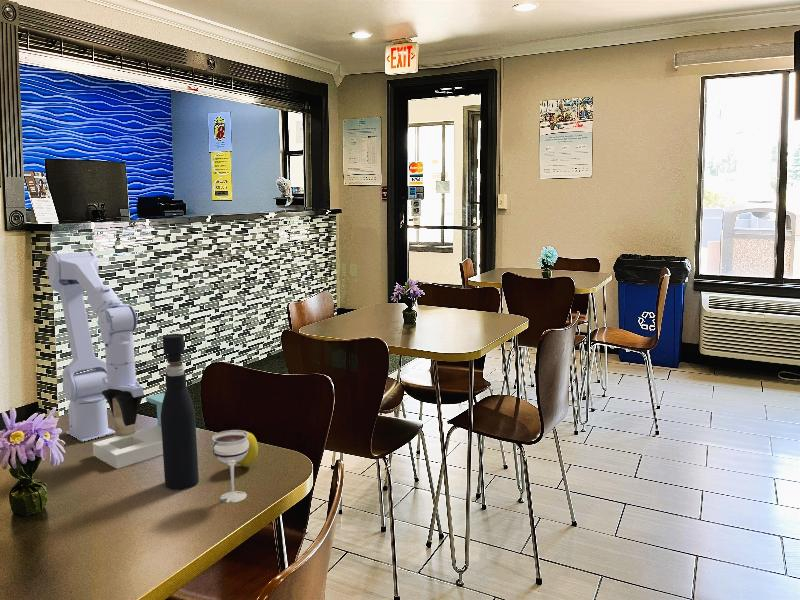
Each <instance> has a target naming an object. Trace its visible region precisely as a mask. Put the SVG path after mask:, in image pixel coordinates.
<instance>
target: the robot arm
mask: <svg viewBox="0 0 800 600" xmlns="http://www.w3.org/2000/svg"><path fill="white" fill-rule="evenodd" d="M46 261H47V262H46V271H47V275H48V279H49V281H48V282H49V285H50V287H51V290H52V291H54V292H56V293H58V295H59V298H60V302H61V305H62V311H63V317H64V322H65V326H66V331H67V336H68V342H69V347H70V353H71V356H72V357H71V358H72V360H71V361H70V363H69V364H67V366H66V367H64V369H63V370H62V390H63V394H64V397H65V399H67V400H68V401H70V402H69V404H68V407H67V408H68V409H67V411H68V422H69V430H67V431H65V433H66V435H68V434H70V435H71V437H72V436H73V437H72V438H74V437H75V439H76V438H77V439H76V440H78V441H79V442H82V443H83V442H84V441H85V442H88V440H89V441H92V440H96V439H99V438H103V437H107V436H111V435H114V434H115V429H114V430H113V429H112V428H109V422H108V420H109V419H108V410H107V407H108V406H109V409H110V411H111V414H112V417H113V418H114V411H113V398H116V400H117V401H118V403H119V406H120V408H121V412H122V417H123V422H124V424H125V426H129V425H133V424H134V425H136V421H137V416H138V411H139V408H140V405H141V402H142V400H143V398H144V397H145V393H144V387H143V386H141V384H140V383H139V382H138V381H139V380H138V379H137V376H136V362H135V347H134V333H133V332H135V330H136V329H137V326H138V317H137V313H136V311H135V309H134V307H133V306H132V305H131V304H127V303H123V302H122V301H121V300H120V298H119V297H118V295H117V294H116V293H115V291H114V290H113V288H112V287H110V285H109V286H108V285H104V283H103V281H102V279H101V277H100V275H99V267H100V266H99V260H98V257H97V255H96V254H95V252H93V251H92V250H88V251H81V252H79V251H78V252H66V253H65V252H64V253H55V252H52V253H50V254H49V256H48V258H47V260H46ZM84 291H85V292H86V293H87V300H86V301H87V303H88V304H89V306H90V307H91V309H92V311H93V312H94V314H95V315H96V316H97V324H98V329H99V331H100V334H101V335H100V337H101V341H102V343H103V344H104V354H105V361H104V360H103V359H101V358H98V357H97V356H96V355H95V350H94V345H93V340H92V335H91V331H90V330H91V329H90V324H89V318H88V315H87V309H86V304H85V300H84V295H83V293H84ZM78 372H79V373H78ZM107 403H108V406H107ZM70 435H69V436H70ZM106 435H107V436H106ZM98 437H99V438H98ZM95 438H96V439H95ZM91 439H92V440H91ZM85 442H84V443H85Z"/></svg>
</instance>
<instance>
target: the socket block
mask: <svg viewBox="0 0 800 600" xmlns="http://www.w3.org/2000/svg"><path fill="white" fill-rule="evenodd" d="M164 395H165V393H163V392H161V393H156V394H152V395H147V396H145V402H148V403H151V404H153V405H156V417H157V425H153V426H149V427H148V426H147V427H146V428H141V429H138V430H135V433H134V434H132V435H129V436H116V435H115V436H114V437H109V438H106V439H103V440H98V441H95V442H92V453H93V455H92V456H93V457H94V456H96V457H97V459H98V458H99V460H100V461H102V462H104V463H105V462H106V463H105V464H107V465H109V466H110V467H113V468H115V469H116V470H118V469H121V468H124V467H127V466H130V465H133V464H136V463H137V464H138V463H140V462H144V461H146V460H149V459H153V458H156V457H158V456H163V445H162V429H161V409H162V402H163V399H164ZM96 457H95V458H96Z"/></svg>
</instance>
